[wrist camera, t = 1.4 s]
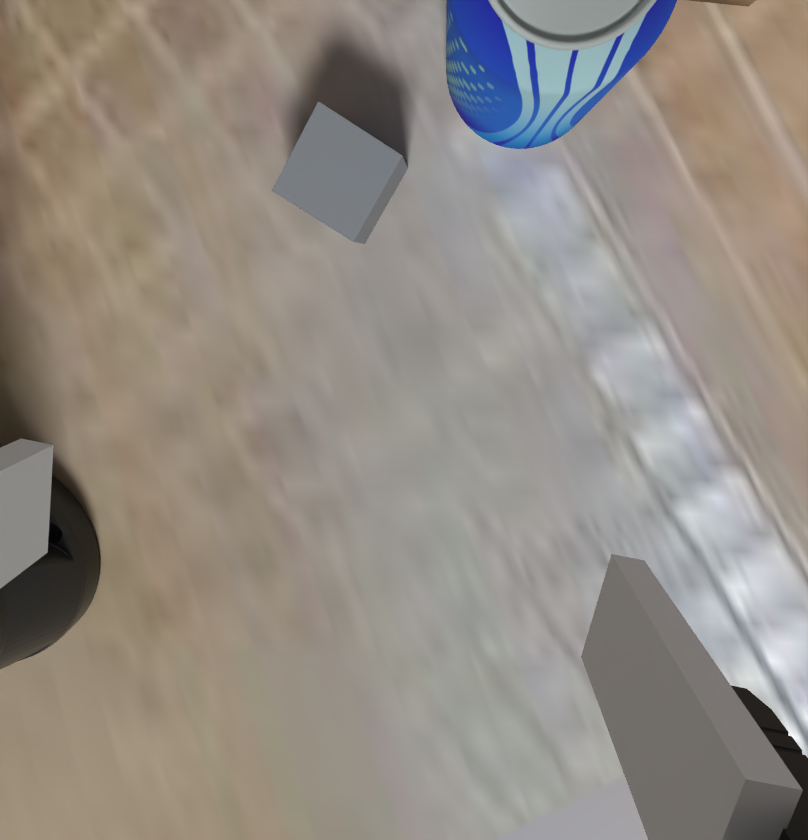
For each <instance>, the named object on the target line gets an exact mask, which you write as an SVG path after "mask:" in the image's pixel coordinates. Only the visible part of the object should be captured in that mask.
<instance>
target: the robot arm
mask: <svg viewBox="0 0 808 840" xmlns="http://www.w3.org/2000/svg"><path fill="white" fill-rule="evenodd" d="M53 446H54V445H51V444H46V443H41V442H36V441H31V440H26V439H19V440H17V441H14V442H12V443H10V444H7V445H5V446H3V447H1V448H0V669H2V668H4V667H6V666H9V665H11V664H13V663H15V662H17V661H20V660H23V659H25V658H28V657H31V656H33V655H36V654H38V653H40V652H42V651H43V650H45V649H47V648H48V647H50V646H51V645H52V644H54V643H55V642H57V641H58V640H59V639H60V638H61V637H62V636H63V635H64V634H65V633H66V632H67V631H68V630H69V629H70V628H71V627H72V626H73V625H74V624H75V623H76V622H77V621H78V620H79V619H80V618H81V617H82V616H83V615H84V613H85V612H86V610H87V609H88V607H89V605H90V604H91V602H92V599H93V597H94V595H95V592H96V589H97V585H98V579H99V570H100V561H99V552H98V546H97V542H96V538H95V535H94V532H93V529H92V527H91V524H90V522H89V520H88V518H87V516H86V514H85V513H84V511H83V509H82V508H81V506H80V505H79V503H78V502H77V501H76V499H75V498H74V497H73V496H72V494H71V493H70V492H69V491H68V490H67V489H66V488H65V487H64V486H63V485H62V484H61V483H60V482H59V481H58V480H57V479H55V478H54V477H53V476H52V464H53ZM581 657H582V660H583V663H584V666H585V668H586V671H587V674H588V676H589V679H590V682H591V685H592V687H593V690H594V693H595V695H596V698H597V701H598V704H599V706H600V709H601V712H602V715H603V717H604V720H605V723H606V725H607V728H608V731H609V734H610V736H611V739H612V742H613V744H614V747H615V750H616V753H617V755H618V758H619V761H620V764H621V766H622V769H623V772H624V774H625V777H626V780H627V783H628V785H629V788H630V791H631V793H632V796H633V799H634V802H635V804H636V807H637V810H638V813H639V815H640V818H641V821H642V823H643V826H644V829H645V832H646V834H647V837H648V840H808V758H807V757H806V755H802V750H801V749H800V747H799V746H798V745H797V743H796V742H795V740H794V739H793V738H792V737H791V736H788V731H787V730H786V728H785V727H784V726H783V724H782V723H781V722H780V720H779V719H778V718H777V716H776V715H775V714H774V712H773V711H772V710H771V709H770V708H769V707H768V706H766V705H765V704H764V703H763V702H762V701H761V700H759V699H758V698H757V697H756V696H755V695H753V694H752V693H751V692H750V691H749V690H747V689H745V688H740V687H735V686H731V685H730V684H729V683H728V681H727V680H726V678H725V677H724V675H723V674H722V672H721V671H720V669H719V668H718V667H717V665H716V664H715V662H714V661H713V659H712V658H711V656H710V655H709V654H708V652H707V651H706V649H705V648H704V646H703V645H702V643H701V642H700V641H699V639H698V638H697V636H696V635H695V633H694V632H693V630H692V629H691V628H690V626H689V625H688V623H687V622H686V620H685V619H684V617H683V616H682V614H681V613H680V612H679V610H678V609H677V607H676V606H675V604H674V603H673V601H672V600H671V599H670V597H669V596H668V594H667V593H666V591H665V590H664V588H663V587H662V586H661V584H660V583H659V581H658V580H657V578H656V577H655V575H654V574H653V573H652V571H651V570H650V568H649V567H648V565H647V564H646V562H645V561H644V560H639V559H634V558H629V557H624V556H619V555H613V554H612V555H611V558H610V562H609V565H608V568H607V572H606V575H605V578H604V582H603V585H602V589H601V592H600V595H599V599H598V602H597V605H596V609H595V612H594V615H593V619H592V622H591V626H590V629H589V632H588V636H587V639H586V642H585V646H584V649H583V653H582V656H581Z"/></svg>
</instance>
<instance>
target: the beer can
mask: <svg viewBox="0 0 808 840" xmlns="http://www.w3.org/2000/svg"><path fill="white" fill-rule="evenodd" d="M676 1H677V0H447V27H446V75H447V83H448V89H449V92H450V96H451V98H452V101H453V104H454V106H455V108H456V110H457V112H458V113H459V115H460V116H461V118H462V119H463V120H464V122H465V123H466V124H467V125H468V126H469V127H470V128H471V129H472V130H473V131H474V132H475V133H476V134H478V135H479V136H480V137H482V138H483V139H485V140H487V141H489V142H491V143H493V144H496V145H499V146H502V147H507V148H515V149H526V148H533V147H538V146H541V145H544V144H547V143H550V142H552V141H554V140H556V139H558V138H559V137H561V136H563V135H564V134H565V133H567V132H568V131H569V130H570V129H572V128H573V127H574V126H575V125H576V124H577V123H578V122H579V121H580V120H581V119H582V118H583V117H584V116H585V115H586V114H587V113H588V112H589V111H590V110H591V109H592V108H593V107H594V106H595V105H596V104H597V103H598V102H599V101H600V100H601V99H602V98H603V97H604V96H605V95H606V93H607V92H608V91H609V90H610V89H611V88H612V87H613V86H614V85H615V84H616V83H617V82H618V81H619V80H620V79H621V78H622V77H623V76H624V75H625V74H626V73H627V72H628V71H629V70H630V69H631V68H632V67H633V66H634V65H635V64H636V63H637V62H638V61H639V60H640V59H641V58H642V57H643V56H644V55H645V54H646V53H647V51H648V50H649V49H650V48H651V47H652V45H653V44H654V43H655V41H656V40H657V38H658V37H659V35H660V34H661V32H662V31H663V29H664V27H665V25H666V24H667V22H668V20H669V18H670V16H671V14H672V11H673V9H674V7H675V4H676Z"/></svg>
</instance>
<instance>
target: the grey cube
mask: <svg viewBox="0 0 808 840" xmlns="http://www.w3.org/2000/svg"><path fill="white" fill-rule="evenodd" d="M407 169H408V167H407V165H406V163H405V160H404V158H403V156H402V155H401V154H399V153H398V152H396V151H395V150H393V149H392V148H390V147H388V146H387V145H385V144H384V143H382V142H381V141H379V140H378V139H376V138H374V137H373V136H371V135H370V134H368V133H367V132H365V131H364V130H362V129H361V128H359V127H357V126H356V125H354V124H353V123H351V122H350V121H348V120H347V119H345V118H343V117H342V116H340V115H339V114H337V113H336V112H334V111H333V110H331V109H330V108H328V107H326V106H325V105H323V104H322V103H320V102H319V101H318V103H317V105H316V107H315V109H314V111H313V112H312V114H311V116H310V118H309V120H308V122H307V124H306V126H305V128H304V130H303V132H302V134H301V136H300V137H299V139H298V141H297V143H296V145H295V147H294V149H293V151H292V153H291V155H290V157H289V159H288V161H287V162H286V164H285V166H284V168H283V170H282V172H281V174H280V176H279V178H278V180H277V182H276V184H275V185H274V187H273V189H272V191H273V192H275V193H277V194H278V195H280V196H281V197H283V198H284V199H286V200H288V201H289V202H291V203H292V204H294V205H296V206H297V207H299V208H300V209H302V210H304V211H305V212H307V213H308V214H310V215H312V216H313V217H315V218H316V219H318V220H319V221H321V222H323V223H324V224H326V225H327V226H329V227H331V228H332V229H334V230H335V231H337V232H339V233H340V234H342V235H343V236H345V237H346V238H348V239H350V240H351V241H353V242H357V243H363V244H365V242H366V241H367V239H368V237H369V235H370V234H371V232H372V230H373V228H374V227H375V225H376V223H377V221H378V220H379V218H380V216H381V214H382V213H383V211H384V209H385V207H386V206H387V204H388V202H389V200H390V199H391V197H392V195H393V193H394V192H395V190H396V188H397V186H398V185H399V183H400V181H401V179H402V178H403V176H404V174H405V172H406V171H407Z"/></svg>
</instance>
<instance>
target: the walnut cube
mask: <svg viewBox="0 0 808 840" xmlns="http://www.w3.org/2000/svg"><path fill="white" fill-rule="evenodd" d="M691 1H701V2H711V3H720V4H730V5H740V6H749V5H751V4H752V3H753V2H754V1H756V0H691Z"/></svg>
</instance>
